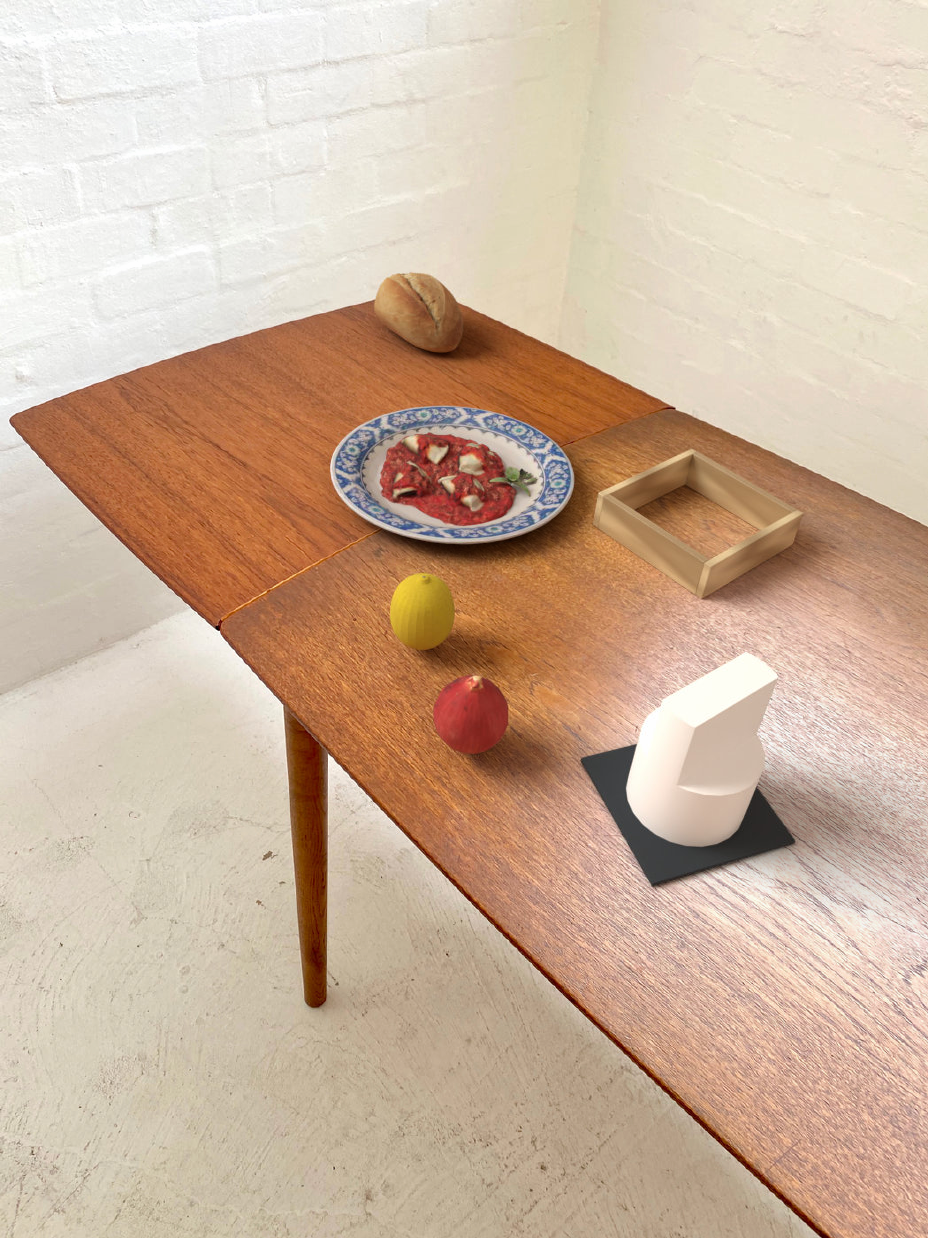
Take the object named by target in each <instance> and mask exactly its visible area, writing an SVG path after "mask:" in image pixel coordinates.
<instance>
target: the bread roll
mask: <svg viewBox="0 0 928 1238" xmlns="http://www.w3.org/2000/svg"><path fill="white" fill-rule="evenodd" d="M373 311H374V313H375V316H376V317H377V320H378V321H379V322H380V323H381V324H382V325H383V326H384V327H386V328H387V329H388V330H390V331H391V332H393V333H394V334H396V335H397V336H399V337H400V338H402V339H403V340H404V341H406V342H408V343H409V344H411V345H413V346H414V347H417V348H420V349H422V350H425V351H429V352H433V353H447V352H452V351H454V350H456V349H457V348H458V346H459V344H460V341H461V339H462V337H463V332H464V318H463V314H462V311H461V308H460V306H459V303H458V301H457V299H456V297H455V295H453V293H452V292H451V291H450V290H449V289H448V288H447V287H446V286H445V285H444V284H443V283H442V282H441V281H440V280H438V279H437V278H436V277H434V276H433V275H431V274H429V273H423V272H422V273H421V272H412V271H411V272H408V273H407V272H405V273H395V274H391V275H390V276H387V277H385V279H383V281H382V282H381V284H380V285H379V287H378V289H377V292H376V296H375V299H374V303H373Z"/></svg>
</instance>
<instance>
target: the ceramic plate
mask: <svg viewBox="0 0 928 1238" xmlns="http://www.w3.org/2000/svg"><path fill="white" fill-rule="evenodd" d="M329 468H330V469H329V470H330V477H331V482H332V484H333V487H334V489H335V491H336V493H337V495H338V496H339V497H340V499H341V500H342V501H343V502H344V504H346V506H347V507H348V508H349V509H351V511H353V512H354V513H355V514H357V515H358V516H360V517H361V518H363V519H364V520H365V521H367V522H369V523H371V524H372V525H375V526H377V527H379V528H381V529H384V530H386V531H388V532H390V533H394V534H397V535H400V536H403V537H407V538H410V539H415V540H420V541H425V542H431V543H436V544H437V543H439V544H449V545H450V544H455V545H474V544H484V543H494V542H499V541H504V540H505V541H506V540H509V539H512V538H515V537H519V536H522V535H525V534H528V533H530V532H531V531H532V532H533V531H535V530H536V529H538V528H541V527H542V526H544V525H546V524H547V523H549V522H550V521H551V520H552V519H554V518H556V517H557V515H559V514H560V513H561V512H562V511H563V510H564V508H565V507H566V506H567V504H568V502H569V501H570V499H571V497H572V493H573V491H574V486H575V474H574V473H575V472H574V469H573V466H572V463H571V460H570V459H569V457H568V456H567V454H566V453H565V451H564V450H563V449H562V447H560V446H559V444H558V443H557V442H555V440H553V439H552V438H551V437H549V436H548V435H546V434H545V433H544V432H542V431H541V430H540V429H537V428H536V427H535V426H532V425H530V424H529V423H526V422H524V421H522V420H518V419H517V418H514V417H511V416H508V415H506V414H502V413H499V412H495V411H491V410H487V409H481V408H476V407H467V406H457V405H431V406H430V405H429V406H417V407H410V408H405V409H400V410H396V411H392V412H388V413H385V414H381V415H378V416H377V417H374V418H373V419H370V420H368V421H366V422H363V423H362V424H359V425H358V426H356V428H355V427H354V429H353V430H351V431H350V432H349V433H347V435H345V436H344V437H343V439H341V440H340V442H339V443H338V445H337V446H336V447H335V450H334V451H333V453H332V457H331V459H330V467H329Z"/></svg>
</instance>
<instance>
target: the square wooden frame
mask: <svg viewBox="0 0 928 1238" xmlns="http://www.w3.org/2000/svg"><path fill="white" fill-rule="evenodd" d="M683 486H687V487H688V488H690V489H691V490H693V491H694V492H696V493H698V494H700V495H701V496H703V497H705V498H706V499H708V500H710V501H711V502H713V503H714V504H716V505H718V506H719V507H721V508H723V509H724V510H726V511H728V513H729V512H730V513H731V514H733V515H734V516H736V517H737V518H739V519H740V520H742V521H744V522H746V523H747V524H749V525H750V526H752V527H754V528H756V529H757V530H759V531H758V532H757V531H756V533H754V534H752V535H750V536H748V537H747V538H745V539H743V540H742V541H740V542H738V543H737V544H735V545H733V546H731V547H729V548H727V549H726V550H724V551H722V552H721V553H719V554H717V555H715V556H714V557H711V558H710V559H709V557H707V556H705V555H704V554H703V553H701V552H699V551H698V550H696V549H695V548H693V547H691V546H690V545H688V544H687V543H685V542H684V541H682V540H680V539H679V538H678V537H676V536H675V535H673V534H672V533H670V532H669V531H667V530H665V529H664V528H663V527H661V526H660V525H658V524H656V523H655V522H653V521H652V520H650V519H649V518H647V517H646V516H644V515H643V514H641V513H639V512H638V511H636V510H637V509H639V508H641V507H643V506H645V505H647V504H649V503H651V502H653V501H655V500H657V499H659V498H661V497H663V496H666V495H667V494H669V493H671V492H673V491H675V490H677V489H679V488H681V487H683ZM593 515H594V516H593V521H592V526H593V527H596V529H598V530H599V531H601V532H602V533H604V534H605V535H607V536H608V537H610V538H612V539H613V540H614V541H616V542H617V543H619V544H620V545H621V546H623V547H625V548H626V550H627V549H628V550H629V551H630V552H632V553H633V554H634V555H636V556H638V557H639V558H641V559H642V560H644V561H645V562H647V563H648V564H649V565H651V566H652V567H654V568H655V569H656V570H658V571H660V572H661V573H662V574H664V575H665V576H666V577H669V578H670V579H671V580H673V581H674V582H675V583H677V584H679V585H680V586H682V587H683V588H684V589H686V590H687V591H689V592H690V593H692V594H693V595H695V596H696V597H698V598H699V599H701V600H703V599H704V598H706V597H708V596H710V595H711V594H712V593H715V592H716V591H718V590H719V589H721V588H723V587H724V586H726V585H727V584H730V583H731V582H733V581H734V580H736V579H737V578H739V577H741V576H743V575H744V574H746V573H748V572H749V571H751V570H753V569H754V568H756V567H758V566H759V565H761V564H762V563H765V562H766V561H768V560H769V559H771V558H773V557H774V556H776V555H778V554H780V553H781V552H783V551H784V550H787V549H788V548H789V547H791V546H793V544H794V542H795V539H796V537H797V533H798V530H799V528H800V525H801V522H802V519H803V516H804V512H802V511H801V510H799V509H798V508H796V507H794V506H792V505H791V504H789V503H787V502H785V501H784V500H782V499H780V498H778V497H776V496H775V495H773V494H772V493H770V492H769V491H767V490H765V489H763V488H761V487H759V486H758V485H757V484H755V483H752V481H749V480H747V479H746V478H745V477H742V476H740V475H739V474H737V473H736V472H733V471H731V470H730V469H728V468H727V467H725V466H723V465H722V464H720V463H718V462H717V461H714V460H713V459H711V458H710V457H708V456H706V455H705V454H703V453H702V452H699V451H697V450H695V449H694V448H690V449H688V450H686V451H683V452H681V453H679V454H678V455H674V456H673V457H671V458H669V459H667V460H665V461H663V462H660V463H658V464H656V465H654V466H652V467H649V468H647V469H646V470H644V471H641V472H639V473H637V474H634V475H633V476H631V477H629V478H627V479H625V480H623V481H620V482H618V483H616V484H614V485H612V486H610V487H608V488H606V489H602V490H601V491H599V492H598V494H597V498H596V504H595V510H594V514H593Z"/></svg>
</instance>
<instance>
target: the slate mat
mask: <svg viewBox="0 0 928 1238" xmlns="http://www.w3.org/2000/svg"><path fill="white" fill-rule="evenodd" d="M636 747H637V743H635V744H631V745H626V746H622V747H618V748H615V749H611V750H607V751H602V752H598V753H594V754H591V755H587V756H583V757H580V763H581V765H582V766H583V768H584V770H585V771H586V773H587V775H588V777H589V779H590V780H591V782H592V784H593V785H594V787H595V790H596V791H597V792H598V794H599V796H600V797H601V800H602V802H603V803H604V805H605V807H606V808H607V810H608V812H609V814H610V816H611V817H612V819H613V821H614V823H615V825H616V826H617V828H618V829H619V832H620V833H621V835H622V836H623V839H624V840H625V842H626V844H627V846H628V847H629V849H630V851H631V852H632V854H633V856H634V858H635V859H636V861H637V863H638V865H639V867H640V868H641V870H642V872H643V874H644V876H645V877H646V879H647V881H648V882H649V884H650V886H651V887H655V886H659V885H661V884H665V883H668V882H672V881H675V880H678V879H681V878H684V877H688V876H691V875H695V874H699V873H701V872H704V871H709V870H711V869H714V868H718V867H721V866H724V865H728V864H732V863H734V862H737V861H741V860H744V859H748V858H751V857H754V856H757V855H762V854H764V853H767V852H771V851H775V850H778V849H781V848H784V847H787V846H790V845H794V844H795V843H796V839H795V838H794V836H793V835H792V834H791V832H790V831H789V829H788V827H786V826H785V823H784V822H783V821H782V820H781V818H780V817H779V816H778V814H777V813H776V811H775V810H774V808H773V807H772V806H771V804H770V803H769V801H768V800H767V799H766V798H765V796H764V795H763V793H762V792H761V790H760V789H759V787H758V786H756V788H755V791H754V793H753V796H752V798H751V801H750V803H749V806H748V808H747V810H746V813H745V815H744V818H743V820H742V822H741V824H740V826H739V828H738V830H737V831H736V832H735V833H734V834H733V835H732V836H731V837H730V838H728V839H726V840H724V841H722V842H720V843H718V844H714V845H709V846H704V847H697V846H684V845H681V844H677V843H673V842H670V841H668V840H666V839H664V838H662V837H660V836H658V835H656V834H654V833H653V832H652V831H650V830H649V829H648V828H647V827H645V826H644V825H643V824H642V823H641V822H640V820H639V819H638V818H637V817H636V816H635V814H634V813H633V811H632V809H631V807H630V804H629V802H628V799H627V791H626V786H627V781H628V777H629V773H630V769H631V765H632V762H633V758H634V754H635V750H636Z"/></svg>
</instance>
